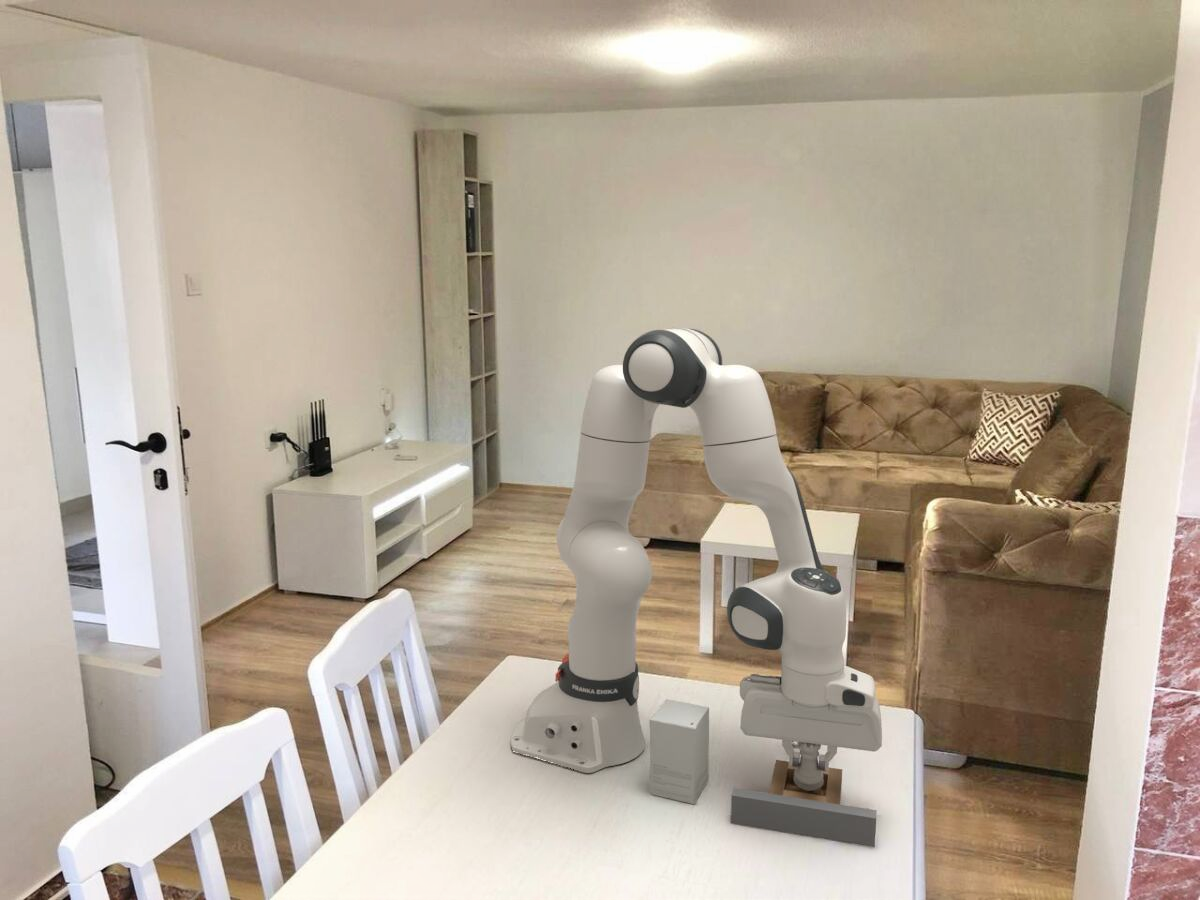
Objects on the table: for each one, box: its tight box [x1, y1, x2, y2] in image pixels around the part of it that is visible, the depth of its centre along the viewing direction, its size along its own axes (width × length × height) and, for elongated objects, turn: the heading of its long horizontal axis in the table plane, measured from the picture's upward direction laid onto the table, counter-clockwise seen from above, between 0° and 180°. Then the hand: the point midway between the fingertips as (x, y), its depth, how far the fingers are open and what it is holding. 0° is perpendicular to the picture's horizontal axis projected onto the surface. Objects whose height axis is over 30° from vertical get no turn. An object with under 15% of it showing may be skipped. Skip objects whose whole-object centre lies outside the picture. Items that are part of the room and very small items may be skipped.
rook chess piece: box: [793, 742, 824, 791], centre depth 137 cm, size 4×4×8 cm
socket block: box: [768, 759, 843, 805], centre depth 138 cm, size 10×10×4 cm
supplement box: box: [649, 698, 710, 805], centre depth 142 cm, size 7×7×13 cm
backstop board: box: [730, 787, 878, 848], centre depth 132 cm, size 20×2×4 cm, turn 73°
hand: (808, 767), depth 137 cm, fingers closed on rook chess piece, 3 cm apart
